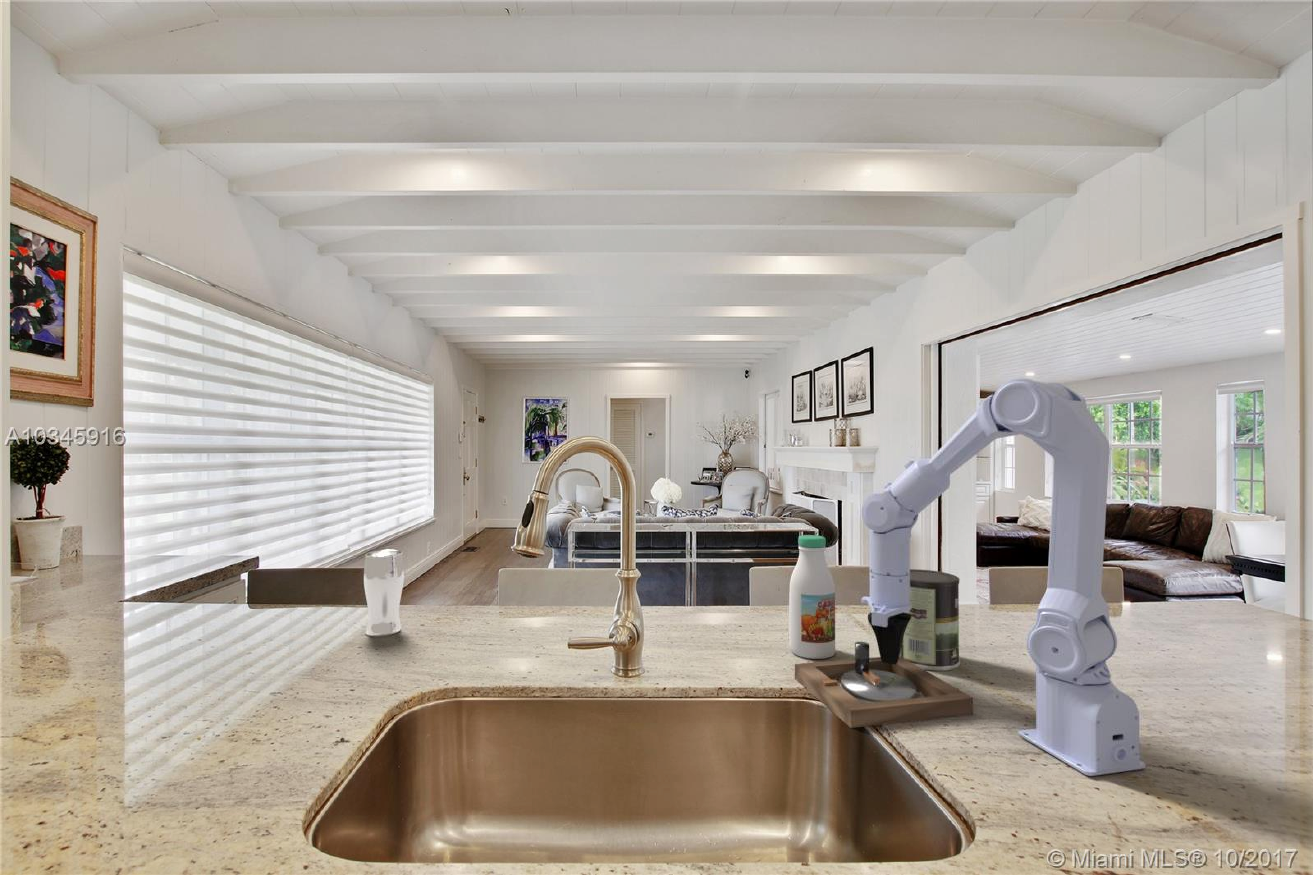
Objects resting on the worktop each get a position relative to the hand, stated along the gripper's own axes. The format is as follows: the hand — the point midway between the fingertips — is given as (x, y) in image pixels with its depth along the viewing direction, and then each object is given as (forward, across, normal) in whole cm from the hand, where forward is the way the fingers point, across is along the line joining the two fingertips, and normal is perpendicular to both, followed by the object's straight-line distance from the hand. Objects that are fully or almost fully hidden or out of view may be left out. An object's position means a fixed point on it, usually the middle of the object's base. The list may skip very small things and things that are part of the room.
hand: (889, 662), depth 89 cm
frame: (+3, +6, 0) cm, 7 cm away
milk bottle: (+3, -6, -14) cm, 15 cm away
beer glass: (+3, +28, -86) cm, 91 cm away
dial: (+3, +6, 0) cm, 7 cm away
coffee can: (+3, -13, +3) cm, 14 cm away
